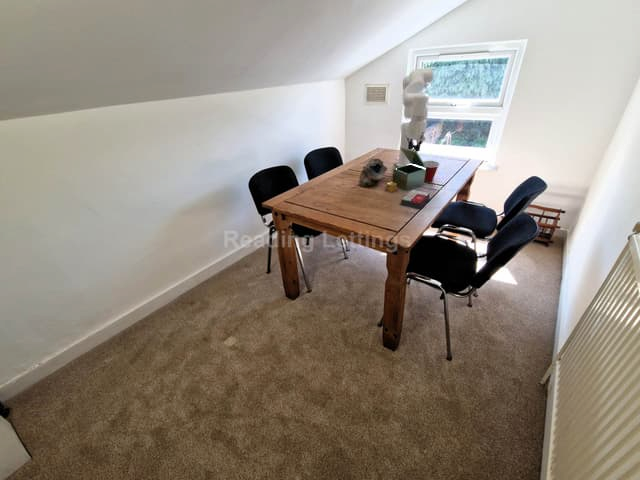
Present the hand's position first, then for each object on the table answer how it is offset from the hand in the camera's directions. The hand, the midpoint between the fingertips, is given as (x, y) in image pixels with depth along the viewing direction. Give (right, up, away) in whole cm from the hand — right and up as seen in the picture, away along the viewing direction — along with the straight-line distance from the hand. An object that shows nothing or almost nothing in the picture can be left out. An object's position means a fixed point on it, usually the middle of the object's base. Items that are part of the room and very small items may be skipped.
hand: (413, 150), depth 173 cm
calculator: (-3, -33, -10) cm, 35 cm away
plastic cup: (+15, -16, +16) cm, 27 cm away
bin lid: (+1, -4, +3) cm, 5 cm away
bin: (0, -19, +11) cm, 22 cm away
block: (-13, -24, +5) cm, 27 cm away
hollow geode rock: (-21, -15, +20) cm, 33 cm away
